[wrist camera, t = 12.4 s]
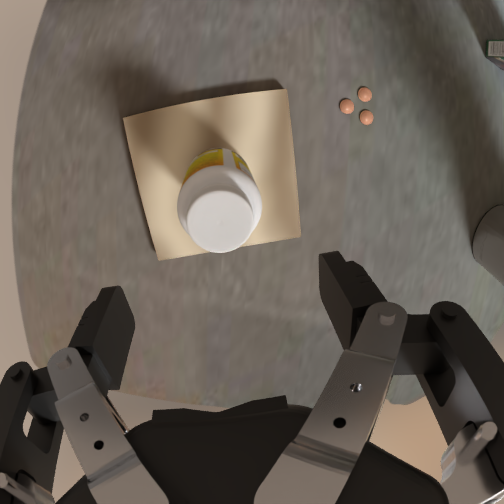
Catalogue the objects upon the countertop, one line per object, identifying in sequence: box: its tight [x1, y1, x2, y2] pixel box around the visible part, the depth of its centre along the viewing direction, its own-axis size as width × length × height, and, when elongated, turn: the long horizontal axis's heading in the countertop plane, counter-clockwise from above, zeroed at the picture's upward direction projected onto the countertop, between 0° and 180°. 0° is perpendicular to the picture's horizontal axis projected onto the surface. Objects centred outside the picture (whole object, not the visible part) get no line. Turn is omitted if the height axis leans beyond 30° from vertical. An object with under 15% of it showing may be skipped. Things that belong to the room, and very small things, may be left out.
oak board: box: [123, 89, 301, 261], centre depth 28 cm, size 14×14×1 cm
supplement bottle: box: [177, 148, 262, 253], centre depth 23 cm, size 6×6×10 cm
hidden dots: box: [340, 87, 373, 125], centre depth 26 cm, size 3×4×1 cm
